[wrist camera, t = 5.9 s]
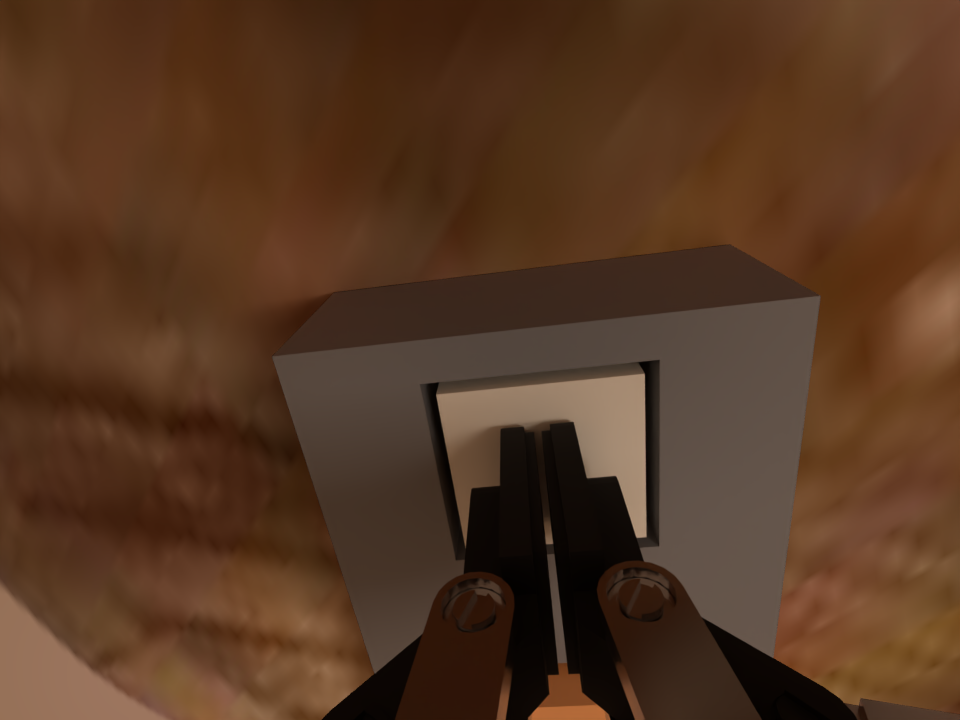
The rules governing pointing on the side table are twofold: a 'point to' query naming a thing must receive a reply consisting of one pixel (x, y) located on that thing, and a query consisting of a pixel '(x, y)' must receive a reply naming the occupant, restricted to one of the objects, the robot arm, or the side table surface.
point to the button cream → (535, 405)
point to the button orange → (567, 700)
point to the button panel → (547, 347)
